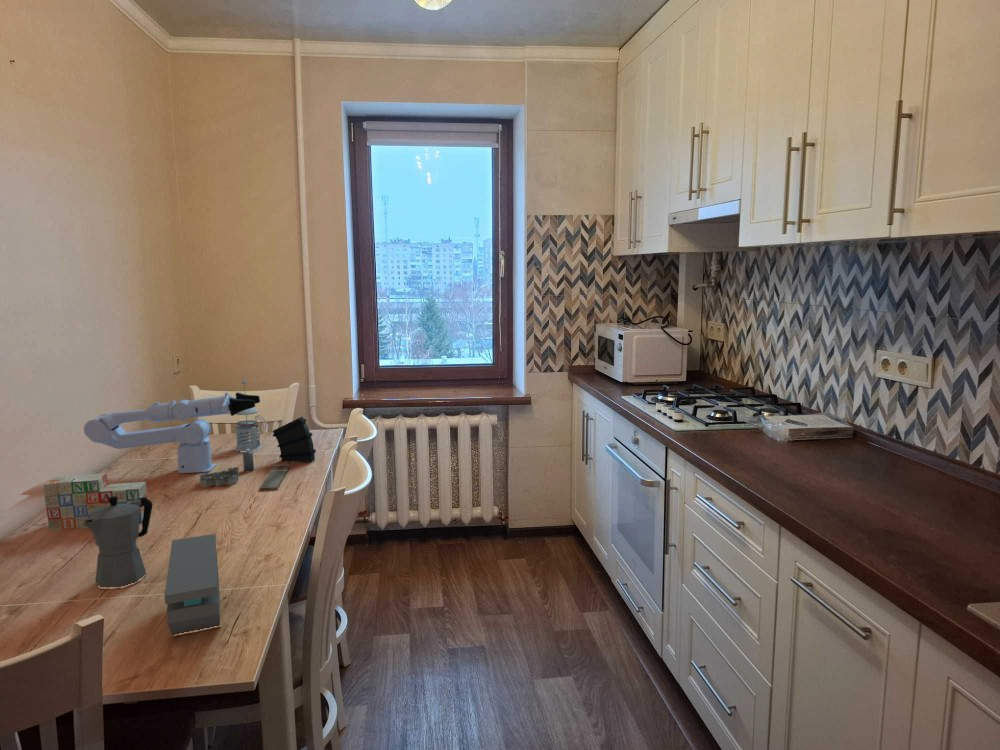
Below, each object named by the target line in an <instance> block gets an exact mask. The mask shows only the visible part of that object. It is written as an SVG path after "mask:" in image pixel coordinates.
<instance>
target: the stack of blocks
mask: <svg viewBox="0 0 1000 750" xmlns="http://www.w3.org/2000/svg"><path fill="white" fill-rule="evenodd" d="M43 491H44V502H45V508H46V515H47V519H48V520H47V523H48V531H49V532H51V531H60V530H61V531H66V530H75V529H76V530H77V529H78V530H79V529H89V528H88V527H87V526H84V525H83V522H84V521H85V520H86V519H88V514H89V513H91V512H92V511H94V510H96V509H97V508H101V507H105V506H109V505H110V502H109V499H108V498H110V497H113V496H116V497H118V500H117V504H129V502H130V501H133V500H137V499H140V498H142V497H146V498H147V499H148V497H147V483H146V481H139V482H138V481H137V482H124V483H123V482H121V483H108V477H107V473H106V472H104V473H103V472H102V473H89V474H80V475H79V474H78V475H62V476H53V477H52V478H50V479H49V480H47V481H46V482H45V483H43ZM143 516H144V506H142V507H140V520H139V524H142V520H143Z"/></svg>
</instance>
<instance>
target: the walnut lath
mask: <svg viewBox="0 0 1000 750" xmlns="http://www.w3.org/2000/svg"><path fill="white" fill-rule="evenodd" d="M289 467H290V468H291V464H289V463H287V464H274V465H273V466H272V467H271V469H270V471H269V473H268V474H267V475H266V477H265V479H264V480H263V483H261V485H260V487H259V491H260V492H263V491H262V490H266V491H278V490H279V488H280V487H281V485H282V483H283V481H284V479H285V478H286V475H287V473H288V472H287V471H289V470H288V469H290V468H289ZM283 478H284V479H283ZM282 480H283V481H282ZM281 482H282V483H281ZM280 484H281V485H280ZM277 489H278V490H277Z"/></svg>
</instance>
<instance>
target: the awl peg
mask: <svg viewBox="0 0 1000 750" xmlns="http://www.w3.org/2000/svg"><path fill="white" fill-rule="evenodd" d="M242 460H243V461H242V463H243V472H245V471H251V472H253V470H254V471H255V466H254V465H255V464H254V451H253V452H252V451H250V449H246V452H242Z"/></svg>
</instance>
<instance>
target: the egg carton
mask: <svg viewBox="0 0 1000 750" xmlns="http://www.w3.org/2000/svg"><path fill="white" fill-rule="evenodd" d="M239 476H240V475H239V466H236V467H235V466H234V467H230V468H228V469H227V470H222V471H215V472H211V473H209V472H201V474H199V483H200V484H199V485H201V486H200V487H203V486H204V487H203V488H206V487H205V486H208V487H210V486H209V485H213V486H214V485H216V486H215V487H221V486H224V485H223V484H227V486H228V485H230V486H233V485H236V484H238V481H239V480H240V479H239ZM237 480H238V481H237ZM232 484H233V485H232ZM220 485H221V486H220Z"/></svg>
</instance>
